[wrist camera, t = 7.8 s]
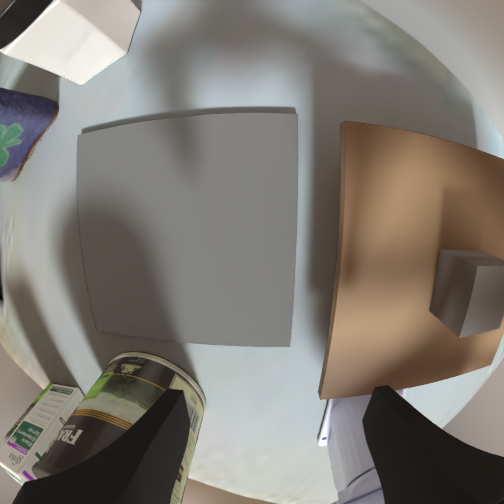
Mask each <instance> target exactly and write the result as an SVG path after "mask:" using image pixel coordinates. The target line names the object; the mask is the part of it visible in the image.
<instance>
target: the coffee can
mask: <svg viewBox="0 0 504 504" xmlns="http://www.w3.org/2000/svg"><path fill="white" fill-rule="evenodd" d="M168 388H170V389H178V390H184V395H185V400H186V404H187V409H188V413H189V418H190V422H191V425H190V431H189V437H188V443H187V447H186V450H185V453H184V457H183V460H182V463H181V466H180V469H179V472H178V476H177V479H176V482H175V485H174V488H173V492H172V496H171V502H170V504H181V503H182V499H183V494H184V490H185V486H186V482H187V479H188V474H189V470H190V466H191V462H192V458H193V454H194V450H195V446H196V443H197V439H198V435H199V430H200V427H201V423H202V419H203V416H204V414H205V411H206V401H205V397H204V395H203V393H202V391H201V389H200V387H199V386H198V385H197V383H196V382H195V381H194V380H193V379H192V378H191V377H190V376H189V375H188V374H187V373H186V372H184V371H183V370H182V369H181V368H179V367H178V366H176V365H174V364H172V363H171V362H169V361H167V360H165V359H163V358H160V357H158V356H154V355H151V354H147V353H141V352H128V353H123V354H120V355H118V356H116V357H115V358H113V359H112V360H111V361H110V362H109V364H108V366H107V368H106V369H105V371H104V372H103V373H102V374H101V376H100V377H99V378H98V380H97V381H96V382H95V384H94V385H93V386H92V388H91V389H90V390H89V391H88V393H87V394H86V395H85V397H84V398H83V400H82V401H81V402H80V403H79V405H78V406H77V408H76V409H75V410H74V411H73V413H72V414H71V416H70V417H69V418H68V420H67V421H66V422H65V424H64V425H63V427H62V428H61V430H60V431H59V432H58V434H57V435H56V437H55V438H54V440H53V441H52V442H51V444H50V445H49V447H48V448H47V450H46V451H45V453H44V454H43V455H42V457H41V458H40V460H39V461H38V462H36V463H35V464H34V465H33V467H32V472H33V473H34V475H35V476H36V477H37V479H39V478H43V477H46V476H50V475H53V474H56V473H58V472H61V471H63V470H66V469H68V468H70V467H73V466H75V465H77V464H79V463H81V462H83V461H84V460H86V459H88V458H90V457H91V456H93V455H95V454H96V453H98V452H99V451H101V450H102V449H104V448H105V447H107V446H108V445H109V444H111V443H112V442H113V441H115V440H116V439H117V438H118V437H120V436H121V435H122V434H123V433H124V432H125V431H126V430H128V429H129V428H130V427H131V426H132V425H133V424H134V423H135V422H136V421H137V420H138V419H139V418H140V417H141V416H142V415H143V414H144V413H145V412H146V411H147V410H148V409H149V408H150V407H151V406H152V405H153V404H154V403H155V402H156V400H157V399H158V398H159V397H160V396H161V395H162V394H163V393H164V391H165V390H166V389H168Z"/></svg>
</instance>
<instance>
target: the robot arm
mask: <svg viewBox="0 0 504 504" xmlns="http://www.w3.org/2000/svg"><path fill="white" fill-rule="evenodd" d="M408 389H409V388H406V389H401V390H393V389H392V388H391V387H390V386H389V385H385V386H379V387H374V390H373V393H372V394H370V395H363V396H355V397H346V398H335V399H329V402H328V406H327V410H326V413H325V417H324V421H323V425H322V428H321V432H320V435H319V438H318V445H319V446H327V447H328V452H329V457H330V463H331V468H332V473H333V479H334V484H335V487H336V489H337V491H338V498H339V502H338V503H336V504H504V457H502V456H498V455H495V454H491V453H488V452H485V451H482V450H480V449H477V448H475V447H473V446H470V445H468V444H466V443H464V442H462V441H460V440H459V439H457V438H455V437H453V436H452V435H450V434H448V433H447V432H445V431H444V430H442V429H441V428H439V427H438V426H437V425H435V424H434V423H433V422H431V421H430V420H429V419H427V418H426V417H425V416H424V415H422V414H421V413H420V412H419V411H418V410H416V409H415V408H414V407H413V406H412V405H411V404H409V403H408V402H407V401H406V400H405V399H404V398H405V396H406V393H407V391H408ZM190 425H191V422H190V418H189V413H188V409H187V404H186V400H185V395H184V390H178V389H170V388H168V389H166V390H165V391H164V393H163V394H162V395H161V396H160V397H159V398H158V399H157V400H156V402H155V403H154V404H153V405H152V406H151V407H150V408H149V409H148V410H147V411H146V412H145V413H144V414H143V415H142V416H141V417H140V418H139V419H138V420H137V421H136V422H135V423H134V424H133V425H132V426H131V427H130V428H129V429H128V430H126V431H125V432H124V433H123V434H122V435H121V436H120V437H118V438H117V439H116V440H115V441H113V442H112V443H111V444H109V445H108V446H107V447H105V448H104V449H102V450H101V451H99V452H98V453H96V454H95V455H93V456H91V457H90V458H88V459H86V460H84V461H83V462H81V463H79V464H77V465H75V466H73V467H70V468H68V469H66V470H63V471H61V472H58V473H56V474H53V475H50V476H46V477H43V478H39V479H35V480H31V481H26V482H25V483H24V484H23V486H22V487H21V489H20V491H19V492H18V494H17V496H16V498H15V499H14V501H13V504H170V502H171V496H172V492H173V488H174V485H175V482H176V479H177V476H178V472H179V469H180V466H181V463H182V460H183V457H184V453H185V450H186V447H187V443H188V437H189V431H190Z"/></svg>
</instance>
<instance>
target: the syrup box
mask: <svg viewBox="0 0 504 504" xmlns="http://www.w3.org/2000/svg"><path fill="white" fill-rule="evenodd" d="M84 397H85V396H84V395H83V393H82V392H81V390H80V388H78V387H75V388H74V387H69V386H63V385H57V384H52V383H49V385H48V386H47V387H46V388H45V389H44V390H43V392H42V393H41V394H40V395H39V396H38V397H37V398H36V399H35V401H34V402H33V403H32V404H31V405H30V407H29V408H28V409H27V410H26V411H25V412H24V414H23V415H22V416H21V417H20V419H19V420H18V421H17V422H16V423H15V425H14V426H13V427H12V428H11V430H10V431H9V432H8V433H7V435H6V436H5V437H4V439H3V440H2V441H1V442H0V466H1V467H2V468H3V469H4V470H5V471H6V472H7V473H8V474H9V475H10V476H11V477H12V478H14V479H15V480H16V481H17V482H19V483H20V484H21V485H22V486H23V484H24V483H25V482H26V481H31V480H35V479H37V477H36V476H35V475H34V473H33V472H32V467H33V465H34V464H35V463H36V462H38V461H39V460H40V458H41V457H42V455H43V454H44V453H45V451H46V450H47V448H48V447H49V445H50V444H51V442H52V441H53V440H54V438H55V437H56V435H57V434H58V432H59V431H60V430H61V428H62V427H63V425H64V424H65V422H66V421H67V420H68V418H69V417H70V416H71V414H72V413H73V411H74V410H75V409H76V408H77V406H78V405H79V403H80V402H81V401H82V400H83V398H84Z"/></svg>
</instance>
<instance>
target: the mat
mask: <svg viewBox="0 0 504 504" xmlns="http://www.w3.org/2000/svg"><path fill="white" fill-rule="evenodd" d="M297 203H298V114H291V113H225V114H207V115H194V116H183V117H174V118H165V119H157V120H150V121H144V122H137V123H132V124H126V125H121V126H115V127H110V128H106V129H101V130H97V131H92V132H88V133H84V134H80V135H78V141H77V206H78V221H79V233H80V242H81V251H82V258H83V265H84V272H85V278H86V284H87V289H88V294H89V299H90V304H91V309H92V313H93V317H94V322H95V326H96V330H97V331H100V332H106V333H112V334H118V335H125V336H132V337H139V338H147V339H155V340H164V341H173V342H184V343H196V344H209V345H227V346H254V347H290V340H291V328H292V314H293V299H294V282H295V262H296V238H297Z"/></svg>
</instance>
